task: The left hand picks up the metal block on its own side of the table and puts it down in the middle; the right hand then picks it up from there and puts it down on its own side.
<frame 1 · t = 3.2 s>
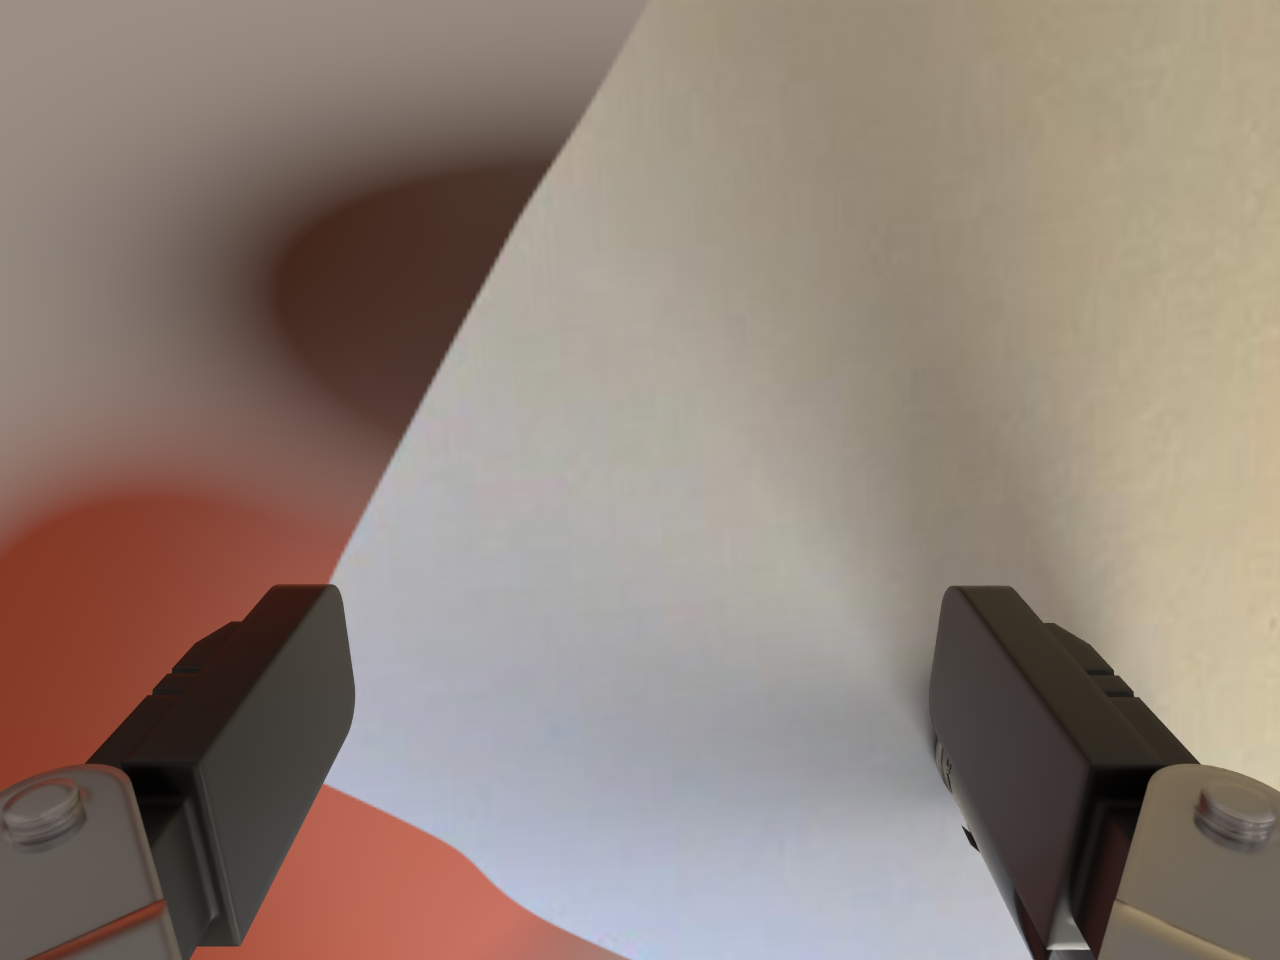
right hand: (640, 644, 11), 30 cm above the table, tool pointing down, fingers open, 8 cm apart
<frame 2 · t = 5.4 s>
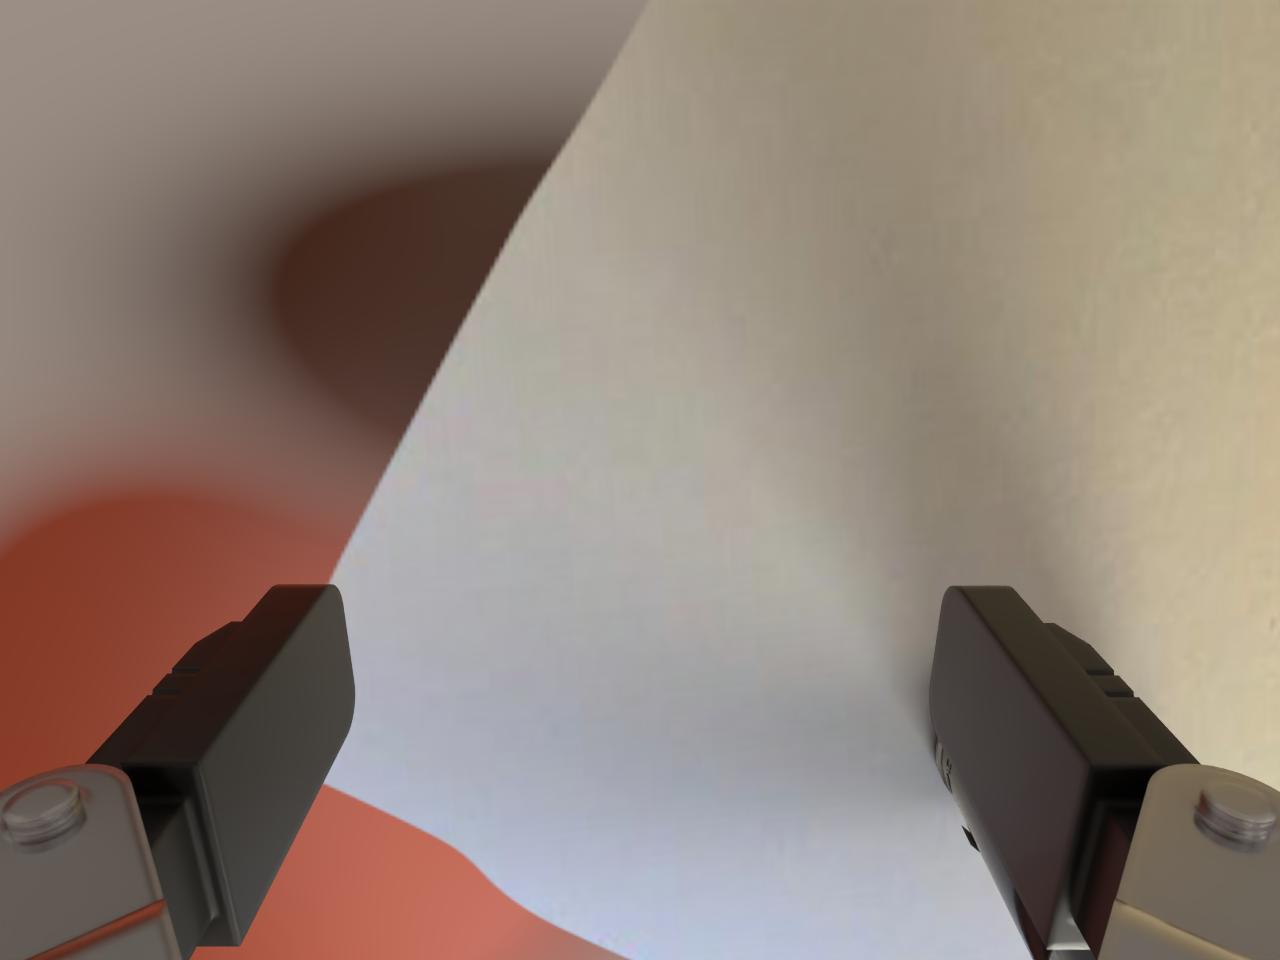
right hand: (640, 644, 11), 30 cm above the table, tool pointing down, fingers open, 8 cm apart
when the left hand's fingers open (2 cm above the table, at t = 7.6 s): block stays where it is, on the table.
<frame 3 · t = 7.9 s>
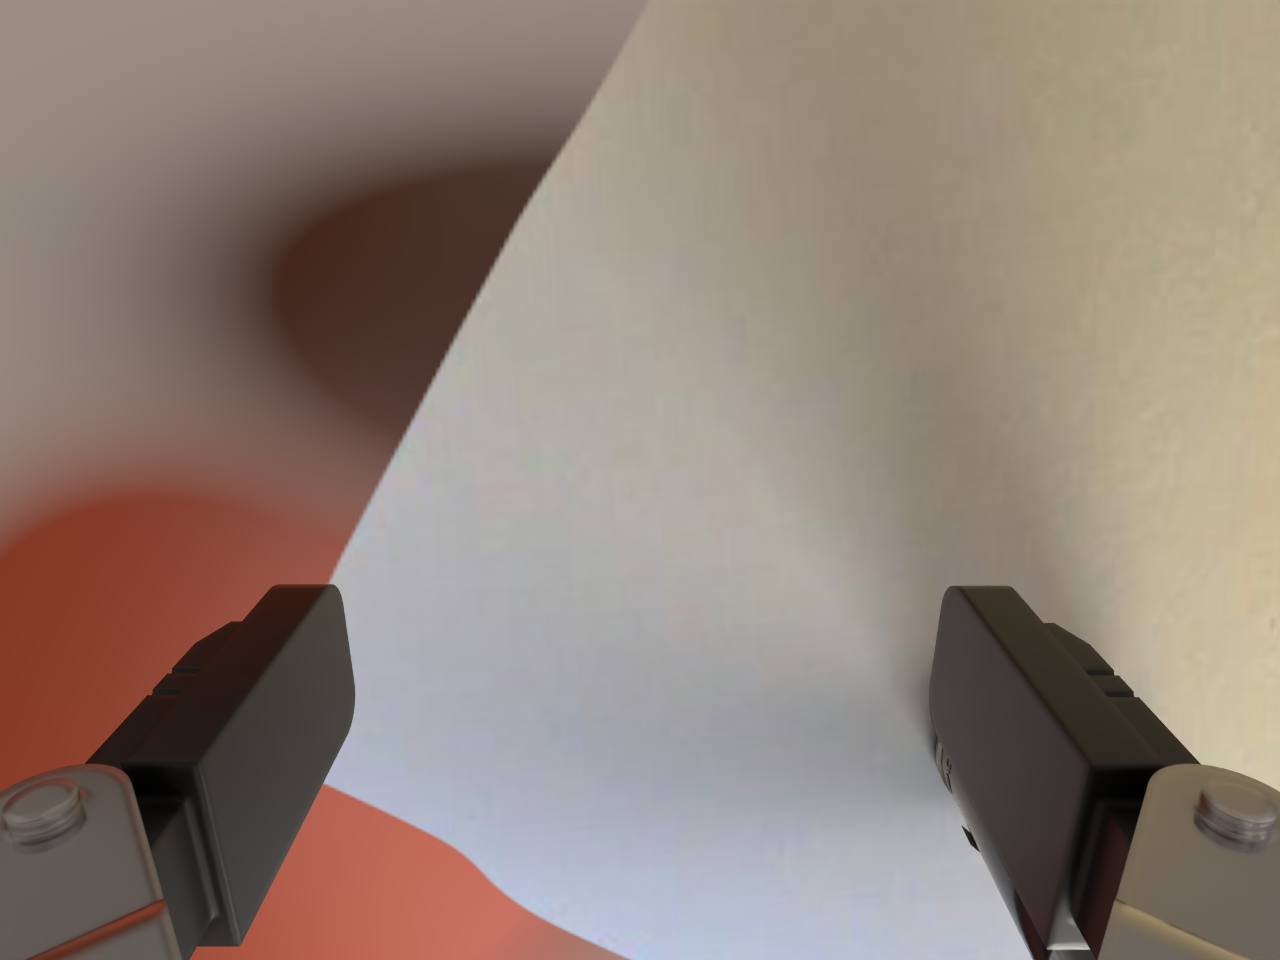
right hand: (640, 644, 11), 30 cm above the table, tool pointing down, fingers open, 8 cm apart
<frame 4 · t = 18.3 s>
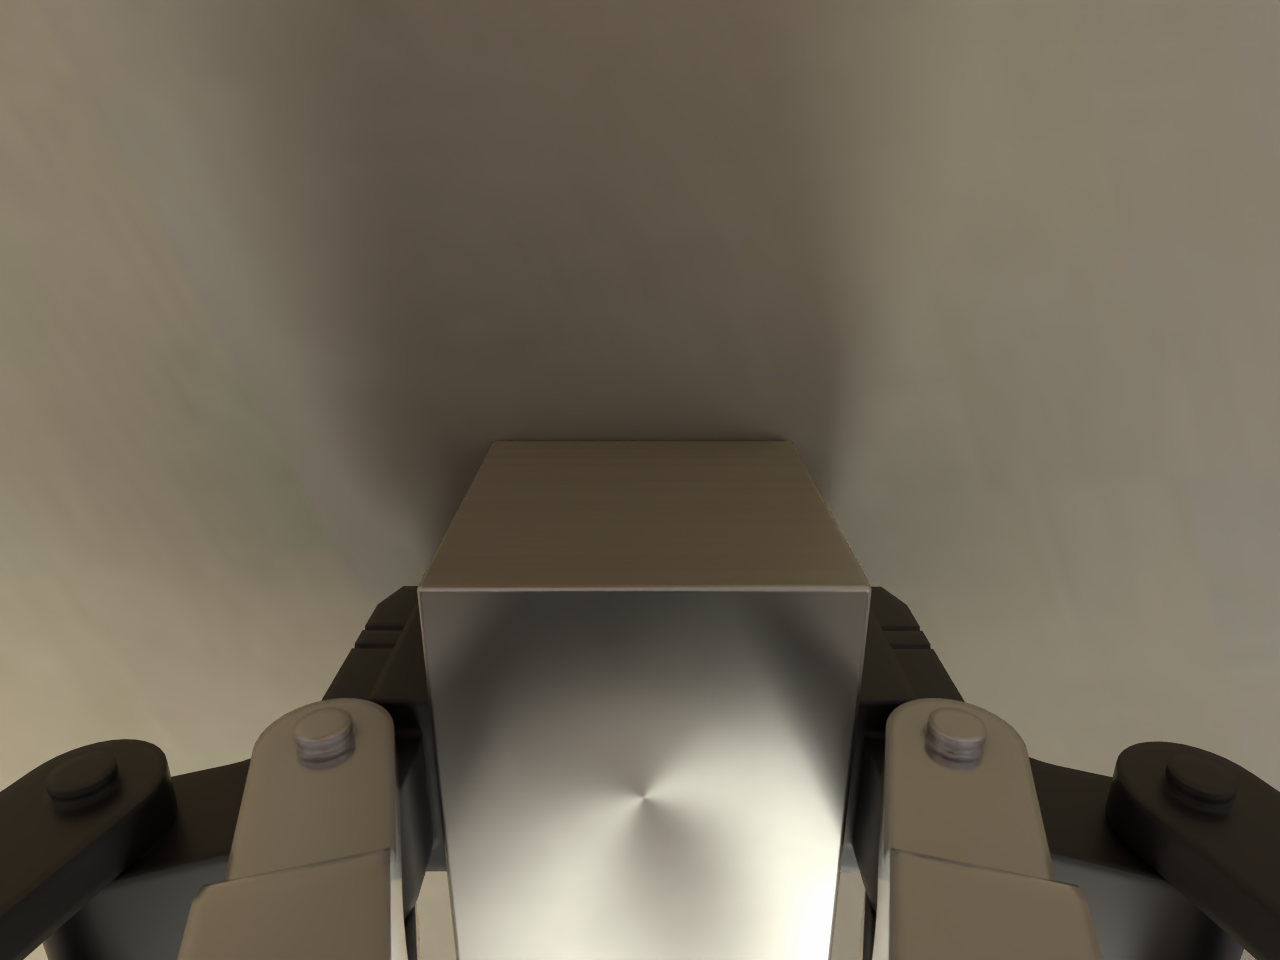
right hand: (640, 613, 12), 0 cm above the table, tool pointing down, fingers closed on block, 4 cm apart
block: (642, 593, 12), on the table, touching right hand
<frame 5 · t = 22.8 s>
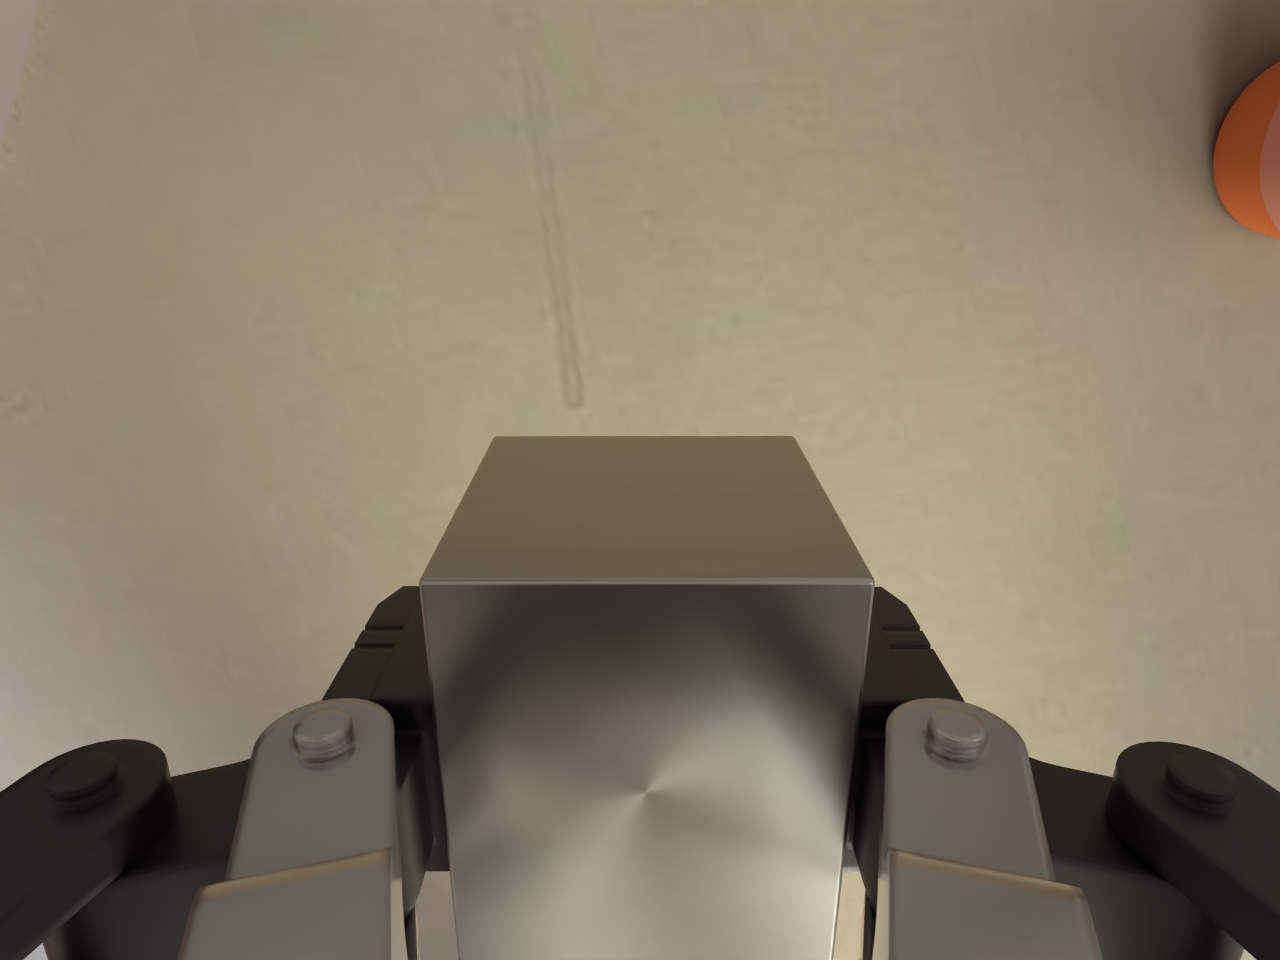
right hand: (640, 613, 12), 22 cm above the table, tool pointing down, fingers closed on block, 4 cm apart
block: (643, 588, 12), point 21 cm above the table, touching right hand
when the right hand's fingers open (1 cm above the table, at t = 27.3 s): block stays where it is, on the table.
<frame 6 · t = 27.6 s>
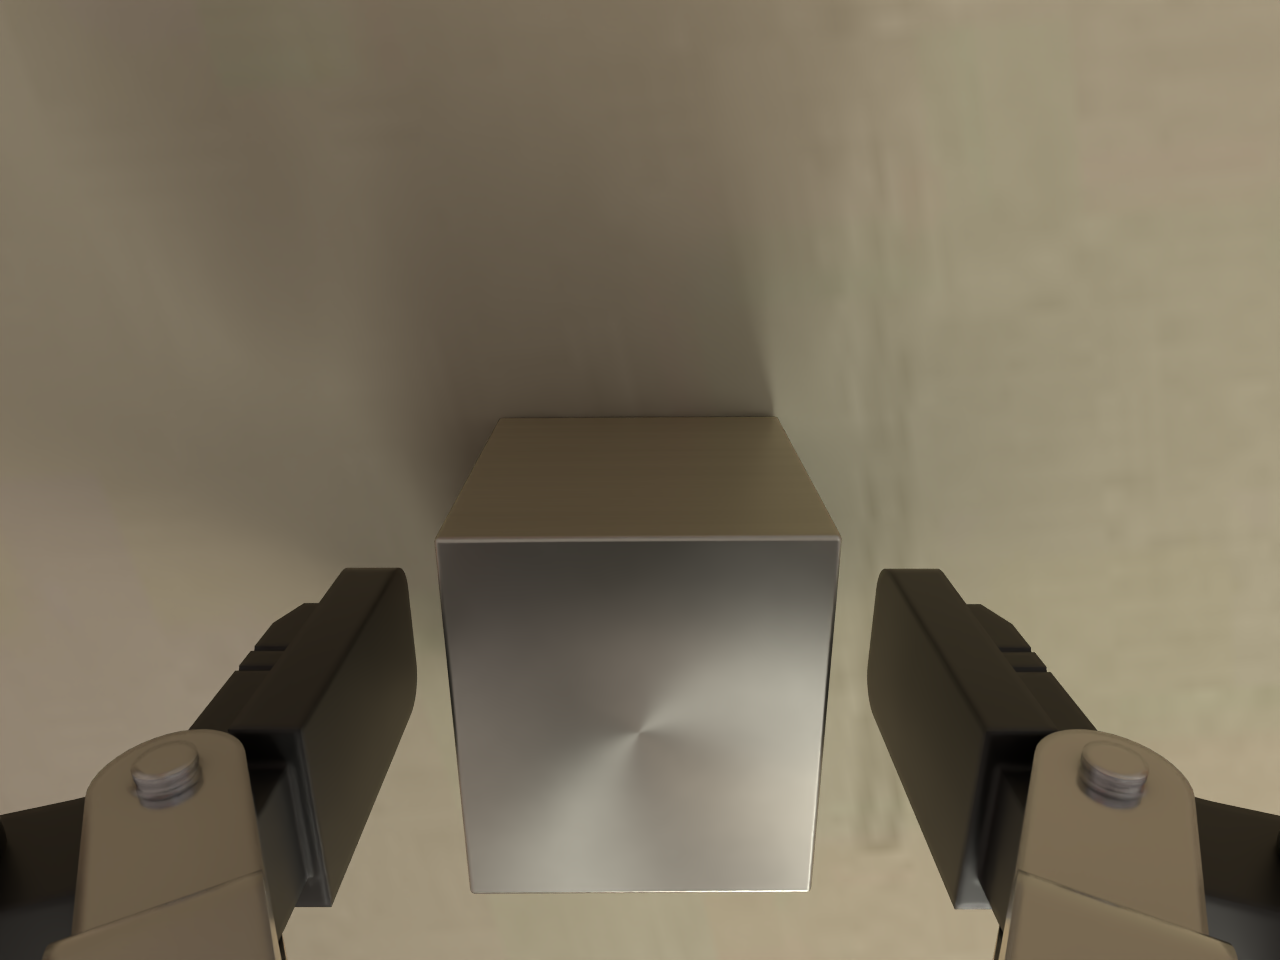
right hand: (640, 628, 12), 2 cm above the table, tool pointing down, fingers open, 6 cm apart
block: (639, 560, 13), on the table
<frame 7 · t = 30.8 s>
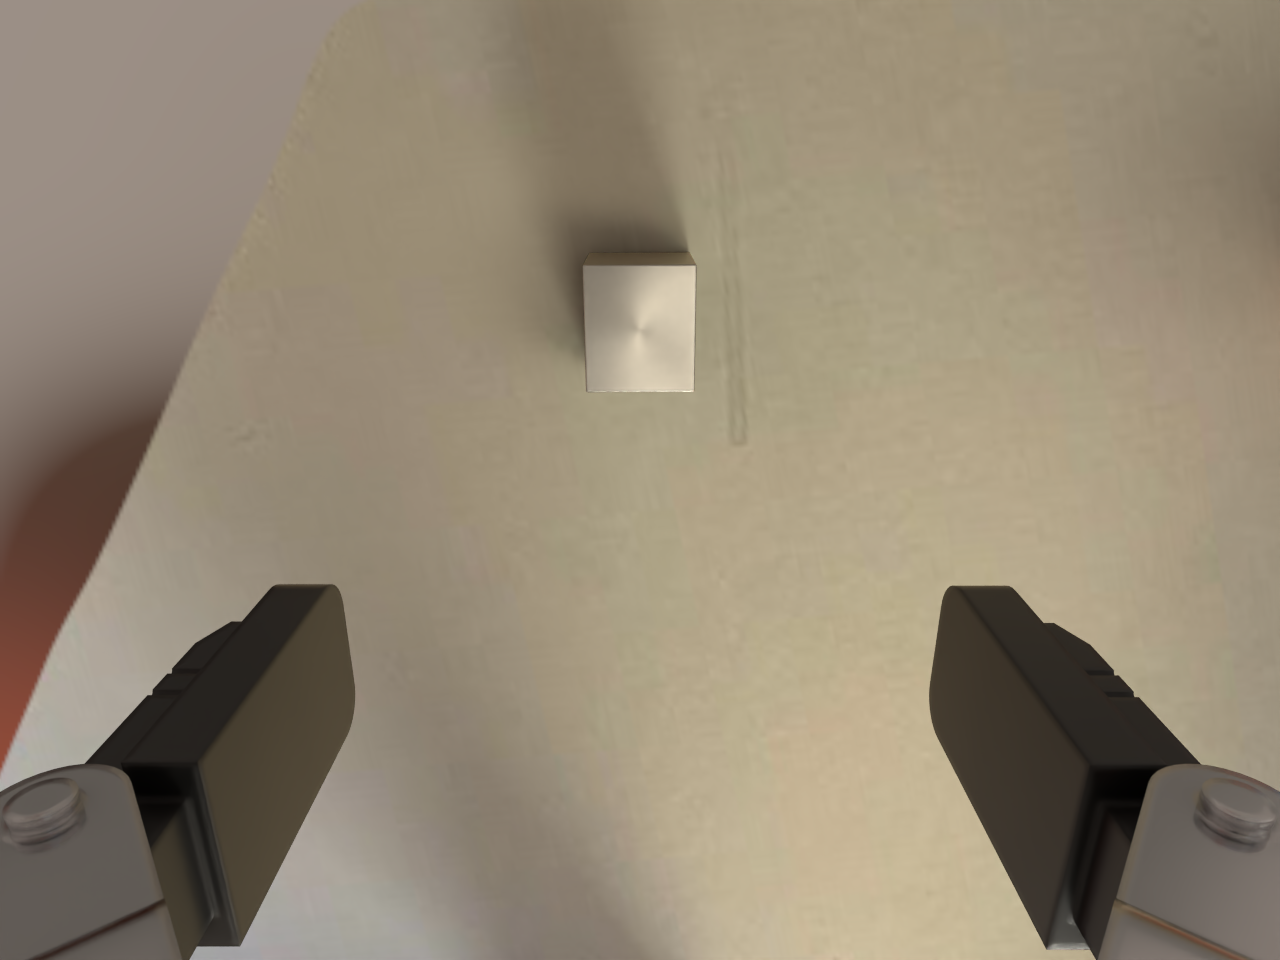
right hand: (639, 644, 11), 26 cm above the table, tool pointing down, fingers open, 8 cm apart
block: (639, 310, 35), on the table
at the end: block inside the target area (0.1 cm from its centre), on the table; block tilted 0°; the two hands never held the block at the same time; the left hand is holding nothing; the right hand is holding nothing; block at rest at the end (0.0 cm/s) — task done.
